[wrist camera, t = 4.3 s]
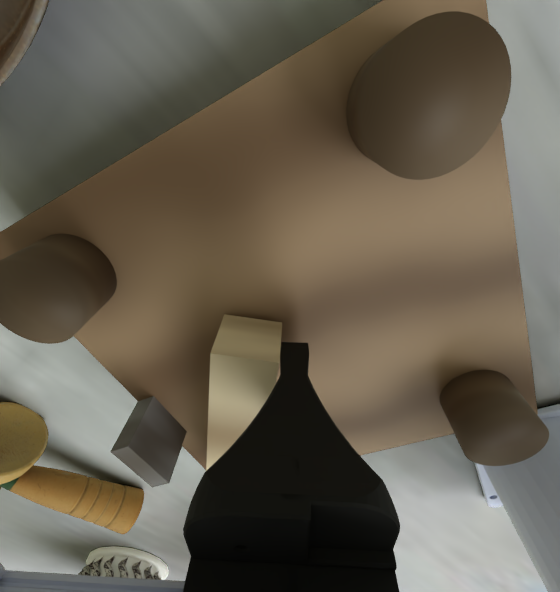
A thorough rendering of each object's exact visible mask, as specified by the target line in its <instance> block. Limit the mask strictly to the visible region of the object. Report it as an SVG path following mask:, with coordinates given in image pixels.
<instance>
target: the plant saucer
mask: <svg viewBox="0 0 560 592" xmlns="http://www.w3.org/2000/svg"><path fill="white" fill-rule="evenodd" d="M48 3H49V0H0V86H1V85H2V84H3V83H4V82H5V80H6V79H7V78H8V77H9V76H10V74H11V73H12V72H13V70H14V69H15V68H16V66H17V65H18V63H19V62H20V61H21V59H22V58H23V56H24V55H25V53H26V51H27V50H28V48H29V46H30V45H31V43H32V41H33V39H34V37H35V35H36V33H37V31H38V29H39V26H40V24H41V22H42V19H43V17H44V15H45V12H46V9H47V6H48Z"/></svg>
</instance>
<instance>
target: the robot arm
mask: <svg viewBox="0 0 560 592" xmlns="http://www.w3.org/2000/svg"><path fill="white" fill-rule="evenodd" d="M308 369H309V346H308V343H301V342H281V349H280V377H279V379H278V381H277V383H276V384H275V386H274V388H273V390H272V392H271V394H270V395H269V397H268V399H267V400H266V402H265V404H264V405H263V407H262V408H261V410H260V411H259V412H258V414H257V415H256V417H255V418H254V419H253V421H252V422H251V423H250V425H249V426H248V427H247V428H246V430H245V431H244V432H243V433H242V434H241V436H240V437H239V438H238V439H237V440H236V441H235V442H234V444H233V445H232V446H231V447H230V448H229V449H228V450H227V451H226V452H225V453H224V454H223V455H222V456H221V457H220V458H219V459H218V460H217V461H216V462H215V463H214V464H213V465H212V466H211V467H210V468H209V469H208V470H207V471H206V472H205V473H204V475H203V477H202V479H201V481H200V483H199V485H198V487H197V489H196V491H195V494H194V496H193V499H192V501H191V504H190V507H189V510H188V514H187V517H186V521H185V525H184V528H183V531H184V537H185V540H186V543H187V546H188V549H189V552H190V555H191V560H190V564H189V568H188V572H187V576H186V580H185V581H171V580H154V579H138V578H122V577H105V576H89V575H73V574H57V573H40V572H24V571H8V570H5V568H4V567H3V565H2V564H1V563H0V592H399V588H398V583H397V579H396V574H395V570H396V561H395V556H394V551H393V548H394V545H395V542H396V540H397V537H398V534H399V531H400V523H399V519H398V516H397V513H396V510H395V507H394V504H393V502H392V499H391V497H390V495H389V492H388V490H387V488H386V486H385V484H384V482H383V480H382V479H381V478H380V477H379V476H378V475H377V474H376V473H375V472H374V471H373V470H372V469H371V468H370V466H369V465H368V464H367V463H366V462H365V461H364V460H363V459H362V458H361V457H360V455H359V454H358V453H357V452H356V451H355V449H354V448H353V447H352V446H351V445H350V443H349V442H348V441H347V439H346V438H345V437H344V435H343V434H342V433H341V432H340V430H339V429H338V428H337V426H336V425H335V423H334V422H333V420H332V419H331V417H330V416H329V414H328V413H327V411H326V409H325V408H324V406H323V404H322V403H321V401H320V399H319V397H318V395H317V393H316V391H315V390H314V388H313V385H312V383H311V381H310V379H309V377H308ZM537 411H538V414H537V415H538V416H539V418H540V419H541V420H542V422H543V423H544V424H545V425H546V427H547V428H548V430H549V439H548V441H547V443H546V445H545V446H544V447H543V448H542V449H541V450H540V451H539V452H538V453H536V454H535V455H533V456H532V457H530V458H528V459H526V460H523V461H521V462H518V463H514V464H510V465H504V466H486V465H481V464H477V463H475V462H474V463H475V467H476V470H477V473H478V477H479V480H480V483H481V487H482V490H483V493H484V497H485V500H486V502H487V504H488V506H490V507H493V508H495V507H501V506H504V508H505V510H506V512H507V514H508V516H509V518H510V519H511V521H512V523H513V525H514V527H515V529H516V531H517V533H518V535H519V537H520V539H521V541H522V543H523V544H524V546H525V548H526V550H527V552H528V554H529V556H530V558H531V560H532V562H533V564H534V566H535V568H536V570H537V571H538V573H539V575H540V577H541V579H542V581H543V583H544V585H545V587H546V589H547V591H548V592H560V404H557V405H553V406H549V407H544V408H540V409H537Z"/></svg>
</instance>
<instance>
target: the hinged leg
mask: <svg viewBox="0 0 560 592" xmlns="http://www.w3.org/2000/svg"><path fill="white" fill-rule="evenodd" d="M281 335H282V322H275V321H268V320H261V319H254V318H247V317H240V316H233V315H226V314H224V317H223V320H222V322H221V325H220V328H219V331H218V333H217V336H216V339H215V342H214V345H213V347H212V350H211V353H210V379H209V407H208V435H207V463H206V471H207V470H208V469H209V468H210V467H211V466H212V465H213V464H214V463H215V462H216V461H217V460H218V459H219V458H220V457H221V456H222V455H223V454H224V453H225V452H226V451H227V450H228V449H229V448H230V447H231V446H232V445H233V444H234V442H235V441H236V440H237V439H238V438H239V437H240V436H241V434H242V433H243V432H244V431H245V430H246V428H247V427H248V426H249V425H250V423H251V422H252V421H253V419H254V418H255V417H256V415H257V414H258V412H259V411H260V410H261V408H262V407H263V405H264V404H265V402H266V400H267V399H268V397H269V395H270V394H271V392H272V390H273V388H274V386H275V384H276V379H277V373H278V368H279V363H280V349H281Z"/></svg>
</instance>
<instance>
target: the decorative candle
mask: <svg viewBox="0 0 560 592" xmlns="http://www.w3.org/2000/svg"><path fill="white" fill-rule="evenodd" d="M86 564H87V566H85V567H84V568H83V569H82V571H81V572H80V573H79V574H78V575H89V576H105V577H122V578H138V579H154V580H165V579H166V578H167V576H168V574H169V570H168V565H167V564H166V563H164V562H163V561H162V560H161V559H160V558H158V557H156V556H154V555H152V554H150V553H148V552H145V551H141V550H137V549H133V548H128V547H118V546H110V547H100V548H97V549H95V550H93V551H91V552H90V554H89V556H88V558H87V560H86Z"/></svg>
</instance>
